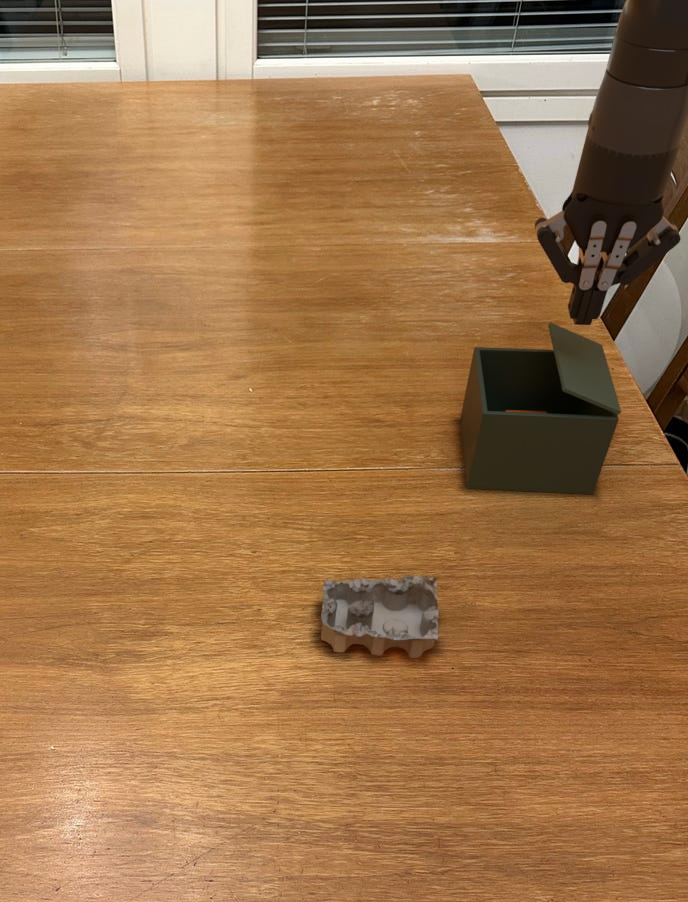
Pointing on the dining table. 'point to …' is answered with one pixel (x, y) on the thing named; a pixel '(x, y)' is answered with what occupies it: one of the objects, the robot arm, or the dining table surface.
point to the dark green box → (529, 426)
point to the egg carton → (381, 614)
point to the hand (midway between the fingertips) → (581, 320)
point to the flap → (583, 368)
